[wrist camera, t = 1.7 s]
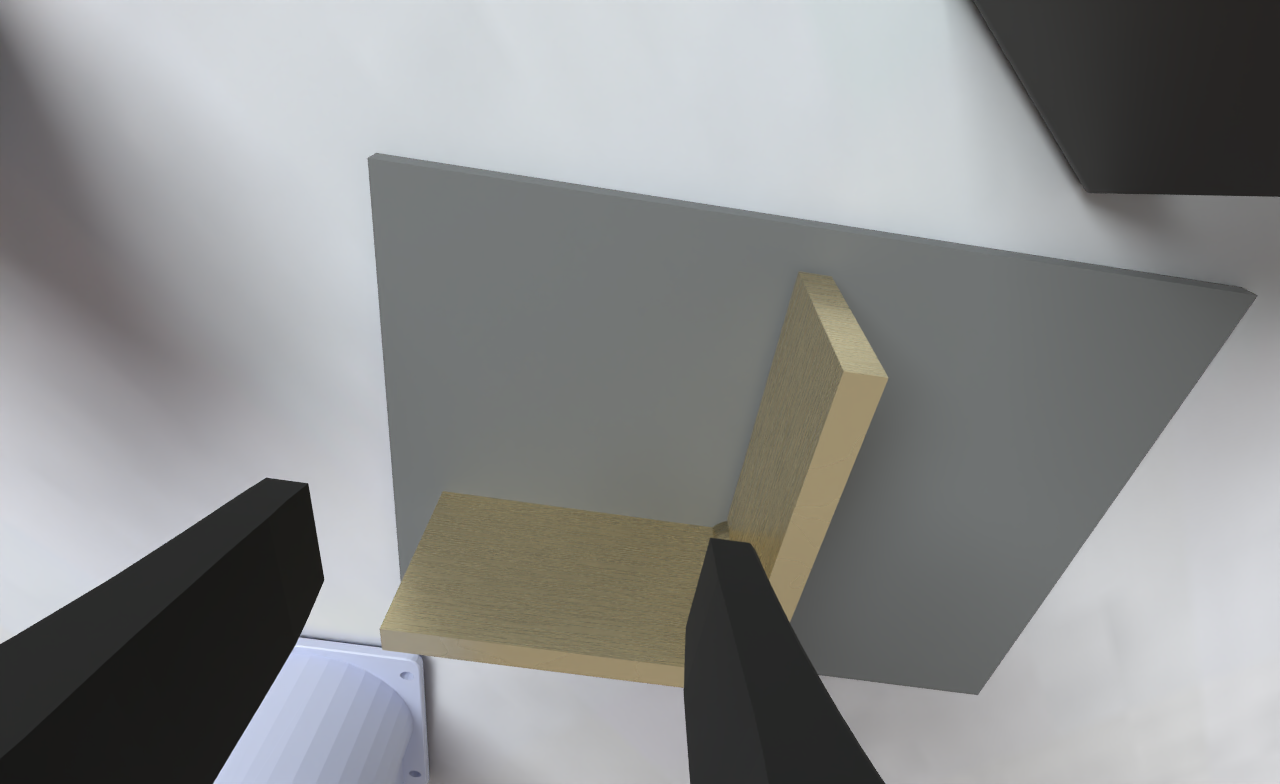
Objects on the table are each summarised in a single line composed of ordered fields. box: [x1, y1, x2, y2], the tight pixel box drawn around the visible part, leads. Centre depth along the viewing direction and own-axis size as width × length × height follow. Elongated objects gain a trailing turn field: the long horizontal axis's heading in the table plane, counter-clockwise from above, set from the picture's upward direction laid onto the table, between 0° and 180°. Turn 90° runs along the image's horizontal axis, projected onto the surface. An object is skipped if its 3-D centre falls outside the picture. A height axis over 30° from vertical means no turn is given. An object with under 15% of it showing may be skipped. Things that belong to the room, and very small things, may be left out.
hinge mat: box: [368, 153, 1257, 695], centre depth 19 cm, size 16×21×1 cm
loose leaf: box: [727, 271, 888, 622], centre depth 16 cm, size 10×2×5 cm, turn 172°
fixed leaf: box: [380, 491, 729, 688], centre depth 18 cm, size 10×2×6 cm, turn 82°
